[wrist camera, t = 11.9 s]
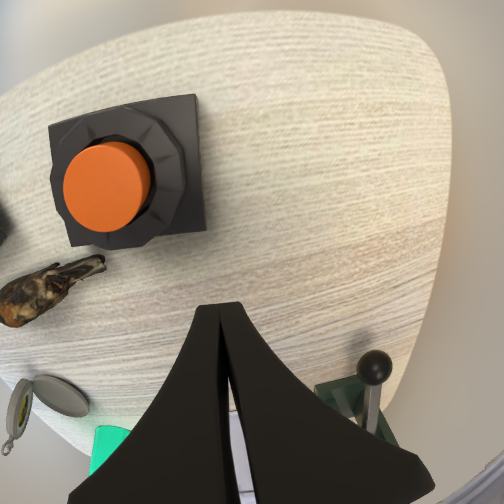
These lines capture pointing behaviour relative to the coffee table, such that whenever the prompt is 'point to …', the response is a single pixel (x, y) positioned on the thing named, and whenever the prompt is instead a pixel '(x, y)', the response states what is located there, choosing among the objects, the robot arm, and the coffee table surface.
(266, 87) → the coffee table surface
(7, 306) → the bird model
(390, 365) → the switch lever
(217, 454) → the robot arm
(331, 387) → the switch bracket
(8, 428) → the pocket watch
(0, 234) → the black flat angular piece
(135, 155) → the box button
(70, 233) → the switch box
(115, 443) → the candle
